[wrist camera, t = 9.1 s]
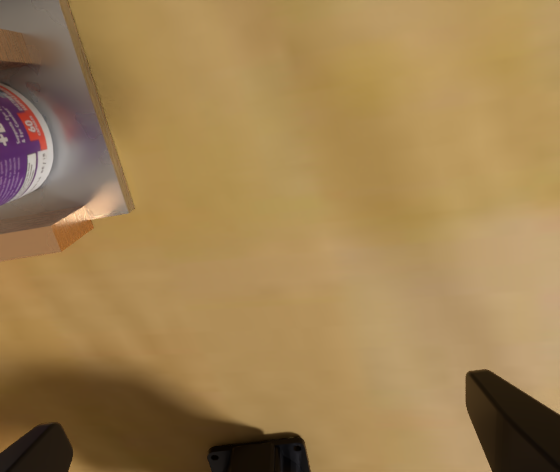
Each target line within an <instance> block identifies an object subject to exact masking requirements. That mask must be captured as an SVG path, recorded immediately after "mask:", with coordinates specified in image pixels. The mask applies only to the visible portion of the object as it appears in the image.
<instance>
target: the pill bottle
mask: <svg viewBox="0 0 560 472" xmlns="http://www.w3.org/2000/svg"><path fill="white" fill-rule="evenodd" d="M52 163H53V143H52V138H51V134H50V131H49V129H48V126H47V124H46V122H45V120H44V118H43V117H42V115H41V114H40V113H39V111H38V110H37V109H36V108H35V106H34V105H33V104H32V103H31V102H30V101H29V100H28V99H27V98H25V97H24V96H23V95H22V94H20V93H19V92H17V91H16V90H14V89H13V88H11V87H9V86H7V85H4V84H2V83H0V206H1V205H4V204H6V203H9V202H11V201H14V200H16V199H18V198H21V197H23V196H25V195H27V194H29V193H31V192H33V191H34V190H36V189H37V188H38V187H39V186H40V185H41V184H42V183H43V182H44V181H45V180H46V178H47V176H48V175H49V172H50V170H51V167H52Z"/></svg>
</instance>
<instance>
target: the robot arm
mask: <svg viewBox="0 0 560 472" xmlns="http://www.w3.org/2000/svg"><path fill="white" fill-rule="evenodd" d="M466 407H467V411H468V414H469V416H470V419H471V421H472V424H473V426H474V428H475V431H476V433H477V436H478V438H479V441H480V443H481V445H482V448H483V450H484V453H485V455H486V458H487V460H488V462H489V465H490V467H491V470H492V472H560V415H559V414H558V413H556V412H555V411H553V410H551V409H550V408H548V407H547V406H545V405H544V404H542V403H540V402H539V401H537V400H536V399H534V398H532V397H531V396H529V395H528V394H526V393H525V392H523V391H521V390H520V389H518V388H517V387H515V386H513V385H512V384H510V383H509V382H507V381H506V380H504V379H502V378H501V377H499V376H498V375H496V374H494V373H493V372H491V371H489V370H487V369H482V370H474V371H469V372H467V374H466ZM72 457H73V449H72V446H71V444H70V442H69V440H68V438H67V436H66V434H65V432H64V430H63V428H62V426H61V424H59V423H57V422H52V423H44V424H40V425H37V426H36V427H34V428H33V429H32V430H30V431H29V432H28V433H26V434H25V435H24V436H22V437H21V438H20V439H19V440H17V441H16V442H15V443H13V444H12V445H11V446H9V447H8V448H7V449H5V450H4V451H3V452H1V453H0V472H68V470H69V467H70V464H71V461H72ZM207 458H208V461H209V464H210V467H211V470H212V472H311V470H310V465H309V461H308V456H307V451H306V446H305V442H304V440H303V439H302V438H287V439H279V440H270V441H261V442H252V443H244V444H235V445H226V446H217V447H212V448H210V449H209V451H208V456H207Z"/></svg>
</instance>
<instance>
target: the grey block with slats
mask: <svg viewBox="0 0 560 472" xmlns="http://www.w3.org/2000/svg"><path fill="white" fill-rule="evenodd" d="M0 83H2V84H4V85H7V86H9V87H11V88H13V89H14V90H16V91H17V92H19V93H20V94H22V95H23V96H24V97H25V98H27V99H28V100H29V101H30V102H31V103H32V104H33V105H34V106H35V108H36V109H37V110H38V111H39V113H40V114H41V115H42V117H43V118H44V120H45V122H46V124H47V126H48V129H49V131H50V134H51V138H52V143H53V163H52V167H51V170H50V172H49V175H48V176H47V178H46V180H45V181H44V182H43V183H42V184H41V185H40V186H39V187H38V188H37V189H36V190H34V191H33V192H31V193H29V194H27V195H25V196H23V197H21V198H18V199H16V200H14V201H11V202H9V203H6V204H4V205H1V206H0V261H6V260H12V259H19V258H25V257H31V256H37V255H44V254H50V253H56V252H62V251H63V250H64V249H66V248H67V247H68V246H70V245H71V244H72V243H74V242H75V241H77V240H78V239H79V238H81V237H82V236H83V235H85V234H86V233H87V232H89V231H90V230H92V229H93V228H94V227H93V224H92V222H91V219H97V218H103V217H109V216H115V215H121V214H127V213H130V212H131V211H132V210H133V209H135V208H134V205H133V202H132V198H131V195H130V192H129V189H128V186H127V183H126V180H125V177H124V174H123V171H122V167H121V164H120V161H119V158H118V155H117V152H116V149H115V146H114V143H113V140H112V137H111V133H110V130H109V127H108V124H107V121H106V118H105V115H104V112H103V109H102V106H101V102H100V99H99V96H98V93H97V90H96V87H95V84H94V81H93V78H92V75H91V72H90V68H89V65H88V62H87V59H86V56H85V53H84V50H83V47H82V44H81V41H80V38H79V34H78V31H77V28H76V25H75V22H74V19H73V16H72V13H71V10H70V7H69V3H68V0H0Z"/></svg>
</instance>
